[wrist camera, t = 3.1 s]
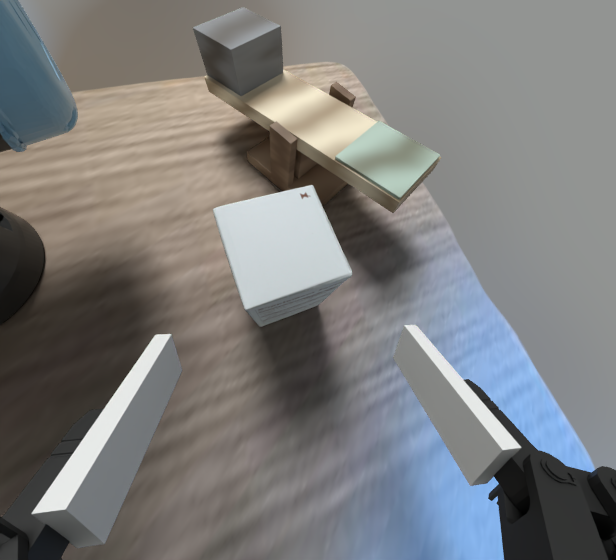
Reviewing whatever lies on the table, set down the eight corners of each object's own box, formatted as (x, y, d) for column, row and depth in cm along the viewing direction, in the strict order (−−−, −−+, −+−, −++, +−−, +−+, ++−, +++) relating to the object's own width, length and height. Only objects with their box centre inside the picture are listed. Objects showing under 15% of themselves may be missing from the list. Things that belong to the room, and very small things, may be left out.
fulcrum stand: (247, 161, 31) (238, 99, 23) (301, 124, 34) (308, 60, 26) (311, 216, 29) (323, 171, 22) (360, 172, 33) (385, 120, 25)
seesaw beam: (208, 91, 28) (188, 29, 23) (255, 66, 30) (246, 5, 25) (393, 213, 22) (421, 164, 16) (433, 169, 24) (468, 116, 19)
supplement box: (239, 269, 26) (208, 203, 14) (298, 252, 28) (315, 180, 16) (258, 329, 24) (241, 312, 12) (319, 307, 26) (357, 273, 14)
